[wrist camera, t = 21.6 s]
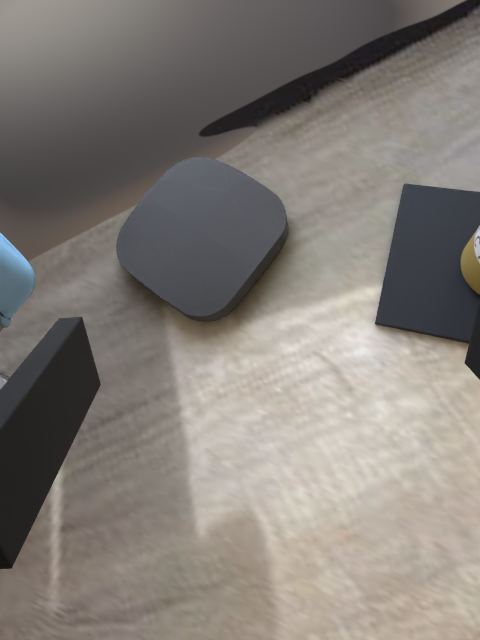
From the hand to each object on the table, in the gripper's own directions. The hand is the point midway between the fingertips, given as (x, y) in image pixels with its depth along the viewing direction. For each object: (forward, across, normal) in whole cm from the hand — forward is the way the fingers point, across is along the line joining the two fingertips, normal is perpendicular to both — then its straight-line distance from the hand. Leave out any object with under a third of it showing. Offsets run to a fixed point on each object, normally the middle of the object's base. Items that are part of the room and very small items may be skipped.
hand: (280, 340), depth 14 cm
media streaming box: (+29, -5, -5) cm, 30 cm away
